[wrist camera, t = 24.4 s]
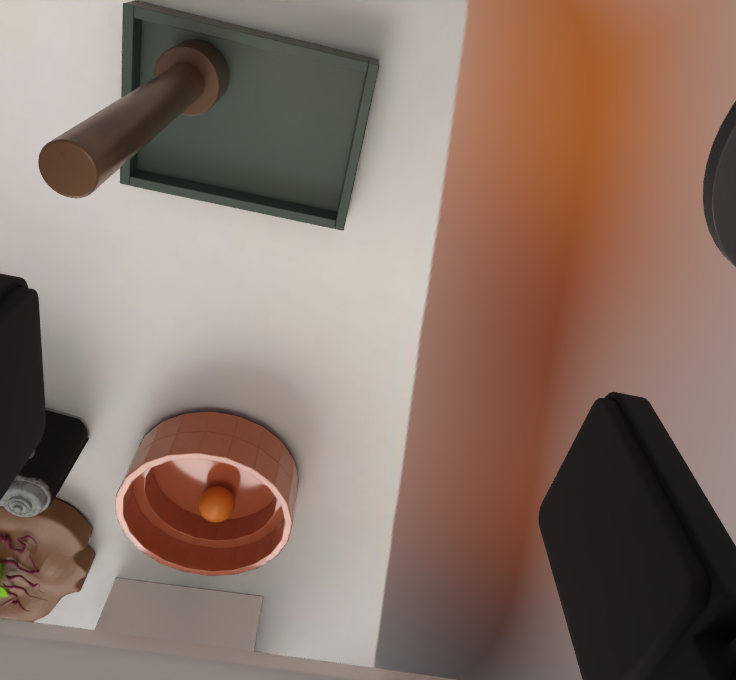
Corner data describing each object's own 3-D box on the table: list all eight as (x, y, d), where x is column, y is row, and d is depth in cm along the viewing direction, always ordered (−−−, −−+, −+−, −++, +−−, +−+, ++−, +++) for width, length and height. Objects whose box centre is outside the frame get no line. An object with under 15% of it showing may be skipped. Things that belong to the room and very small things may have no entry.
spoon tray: (378, 59, 38) (379, 65, 36) (344, 219, 43) (343, 230, 41) (134, 0, 36) (122, 2, 34) (130, 173, 41) (119, 183, 39)
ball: (209, 474, 55) (235, 488, 56) (187, 502, 55) (214, 515, 56) (219, 491, 52) (246, 506, 54) (195, 520, 52) (223, 534, 54)
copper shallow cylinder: (310, 423, 52) (304, 470, 48) (285, 535, 59) (278, 586, 55) (140, 393, 51) (116, 439, 46) (135, 512, 58) (114, 562, 53)
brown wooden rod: (240, 65, 37) (140, 158, 21) (211, 116, 39) (96, 239, 23) (186, 25, 36) (35, 91, 20) (157, 79, 38) (-4, 181, 22)
